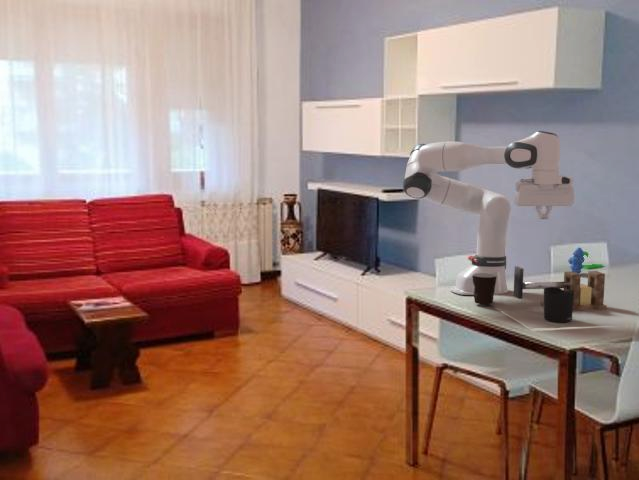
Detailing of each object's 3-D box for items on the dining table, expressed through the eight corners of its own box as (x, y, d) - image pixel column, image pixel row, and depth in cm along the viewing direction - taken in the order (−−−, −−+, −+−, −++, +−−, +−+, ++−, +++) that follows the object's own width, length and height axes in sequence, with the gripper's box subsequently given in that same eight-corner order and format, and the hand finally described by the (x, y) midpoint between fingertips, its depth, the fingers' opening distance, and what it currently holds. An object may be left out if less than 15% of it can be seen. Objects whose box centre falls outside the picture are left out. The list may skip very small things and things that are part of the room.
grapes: (571, 271, 323) (573, 245, 321) (587, 273, 319) (588, 246, 317) (562, 275, 314) (563, 248, 312) (578, 277, 310) (579, 249, 308)
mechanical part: (587, 270, 328) (588, 253, 327) (576, 268, 333) (577, 251, 332) (604, 268, 334) (605, 251, 333) (594, 266, 339) (595, 249, 338)
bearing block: (552, 310, 248) (553, 275, 246) (540, 304, 256) (542, 271, 255) (606, 309, 250) (608, 274, 249) (593, 303, 259) (595, 270, 257)
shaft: (519, 298, 248) (520, 268, 246) (513, 295, 252) (514, 266, 251) (573, 297, 250) (574, 267, 249) (566, 294, 255) (568, 265, 254)
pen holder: (549, 323, 230) (551, 293, 228) (538, 316, 239) (539, 287, 238) (577, 323, 231) (579, 292, 229) (565, 316, 240) (566, 286, 239)
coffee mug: (491, 306, 254) (492, 278, 253) (467, 303, 259) (468, 275, 258) (501, 300, 264) (502, 273, 263) (479, 297, 269) (479, 271, 267)
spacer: (579, 305, 250) (580, 287, 249) (571, 301, 256) (572, 284, 256) (590, 305, 251) (591, 287, 250) (581, 301, 257) (582, 283, 256)
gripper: (519, 179, 242) (518, 220, 244) (577, 179, 244) (575, 219, 246) (512, 178, 248) (510, 218, 250) (568, 178, 250) (566, 217, 252)
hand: (543, 219), depth 248 cm, fingers closed
